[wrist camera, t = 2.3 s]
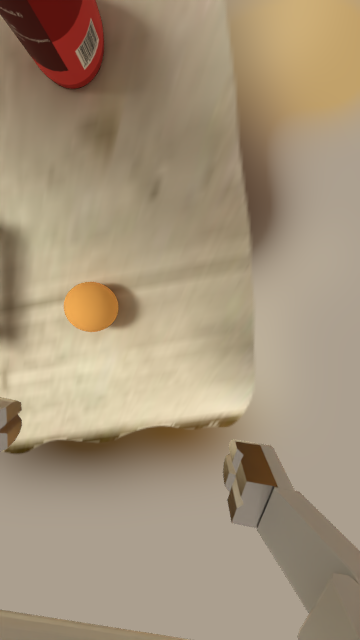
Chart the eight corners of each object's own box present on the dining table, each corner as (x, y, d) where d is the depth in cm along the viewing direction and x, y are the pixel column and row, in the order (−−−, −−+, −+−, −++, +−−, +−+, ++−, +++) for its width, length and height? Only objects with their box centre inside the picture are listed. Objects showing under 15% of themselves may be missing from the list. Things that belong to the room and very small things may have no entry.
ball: (78, 319, 28) (51, 333, 22) (81, 276, 26) (53, 278, 20) (121, 327, 28) (105, 343, 22) (126, 285, 26) (111, 290, 21)
